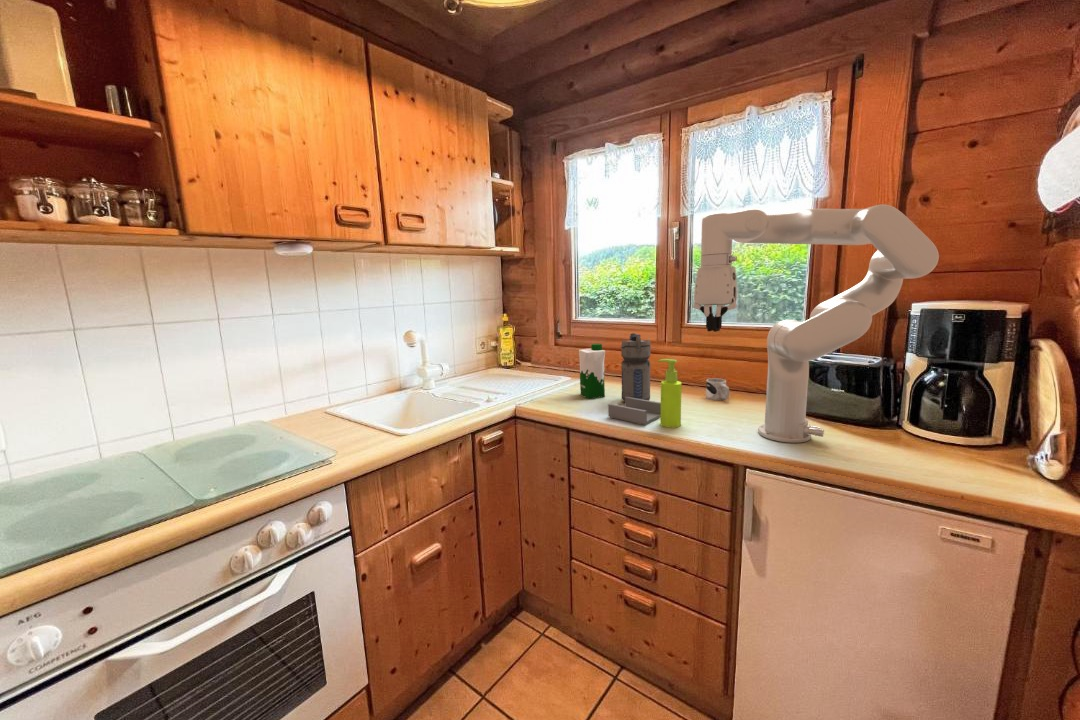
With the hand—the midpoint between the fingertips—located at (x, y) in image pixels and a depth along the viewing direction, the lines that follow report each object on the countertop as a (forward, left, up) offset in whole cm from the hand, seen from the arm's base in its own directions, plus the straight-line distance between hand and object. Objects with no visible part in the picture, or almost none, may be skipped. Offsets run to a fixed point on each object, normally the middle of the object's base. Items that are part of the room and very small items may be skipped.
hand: (713, 330), depth 116 cm
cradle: (+24, 0, -29) cm, 38 cm away
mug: (+11, -35, -29) cm, 47 cm away
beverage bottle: (+34, -16, -29) cm, 47 cm away
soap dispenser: (+13, 0, -29) cm, 32 cm away
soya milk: (+51, -13, -29) cm, 60 cm away
